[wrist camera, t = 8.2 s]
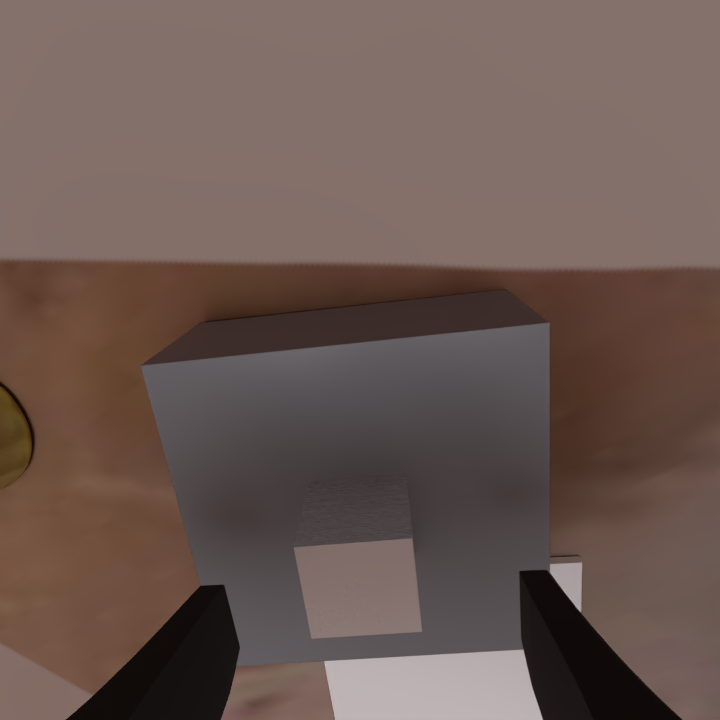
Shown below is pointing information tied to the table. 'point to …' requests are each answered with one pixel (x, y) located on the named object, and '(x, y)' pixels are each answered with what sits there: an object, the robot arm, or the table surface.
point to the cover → (363, 472)
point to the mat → (445, 678)
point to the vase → (12, 440)
